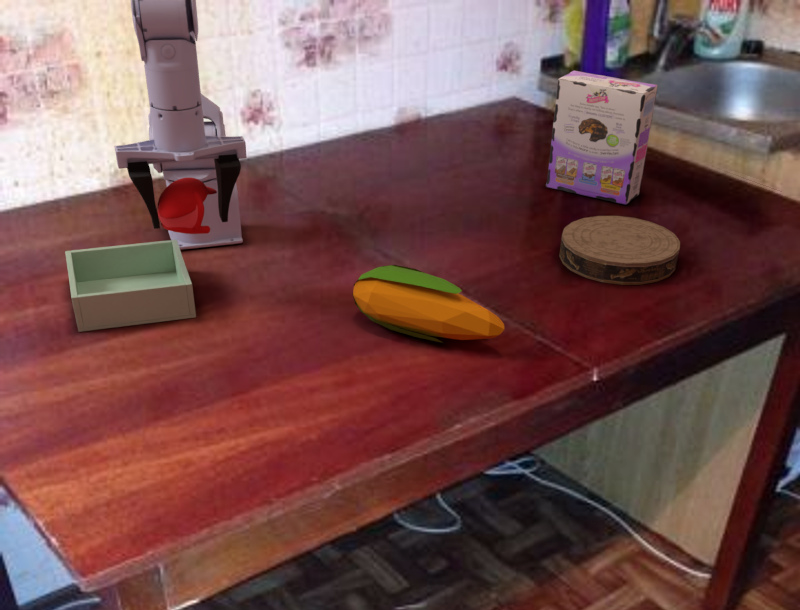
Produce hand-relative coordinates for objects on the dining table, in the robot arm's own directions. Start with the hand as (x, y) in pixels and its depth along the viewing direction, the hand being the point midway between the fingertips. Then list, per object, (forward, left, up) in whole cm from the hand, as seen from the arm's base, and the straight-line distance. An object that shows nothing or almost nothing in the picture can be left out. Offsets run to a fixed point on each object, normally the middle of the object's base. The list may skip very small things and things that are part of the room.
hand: (189, 222), depth 118 cm
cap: (+1, 0, -1) cm, 1 cm away
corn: (-25, +16, -10) cm, 31 cm away
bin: (+8, -2, -10) cm, 13 cm away
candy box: (-65, -21, -10) cm, 69 cm away
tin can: (-57, +3, -10) cm, 58 cm away
